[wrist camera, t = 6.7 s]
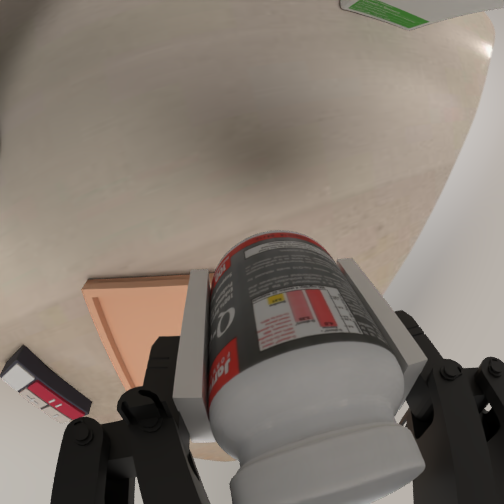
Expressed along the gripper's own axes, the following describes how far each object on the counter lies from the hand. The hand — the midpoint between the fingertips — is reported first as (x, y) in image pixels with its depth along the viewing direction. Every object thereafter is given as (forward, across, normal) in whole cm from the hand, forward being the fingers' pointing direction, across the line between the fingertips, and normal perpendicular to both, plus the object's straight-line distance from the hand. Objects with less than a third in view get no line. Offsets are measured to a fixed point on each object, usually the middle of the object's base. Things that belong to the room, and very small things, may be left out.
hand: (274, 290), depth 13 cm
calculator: (+15, -36, -28) cm, 48 cm away
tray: (+14, -8, -17) cm, 24 cm away
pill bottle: (+1, 0, 0) cm, 1 cm away
